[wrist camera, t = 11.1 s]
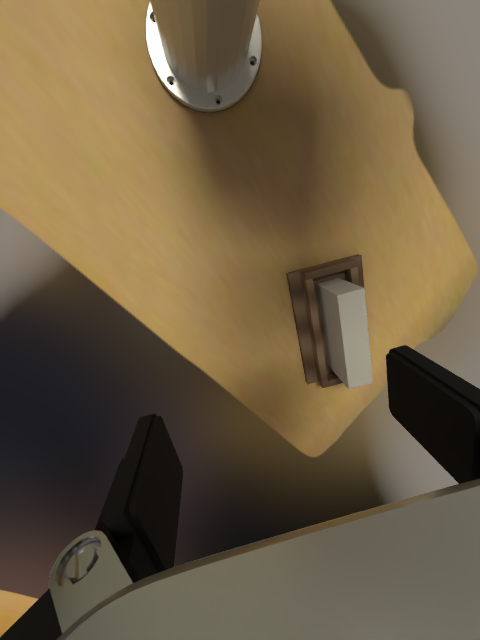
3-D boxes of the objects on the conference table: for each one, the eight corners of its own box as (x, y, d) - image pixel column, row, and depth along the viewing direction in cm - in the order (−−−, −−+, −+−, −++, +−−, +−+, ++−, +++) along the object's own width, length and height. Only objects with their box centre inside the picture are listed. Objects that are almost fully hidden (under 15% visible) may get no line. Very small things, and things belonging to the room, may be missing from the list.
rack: (286, 273, 40) (292, 276, 37) (357, 254, 40) (369, 256, 38) (306, 381, 47) (312, 391, 44) (367, 364, 47) (377, 373, 44)
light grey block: (316, 284, 40) (337, 295, 34) (338, 278, 40) (364, 287, 34) (328, 365, 45) (348, 389, 38) (348, 359, 45) (372, 382, 38)
